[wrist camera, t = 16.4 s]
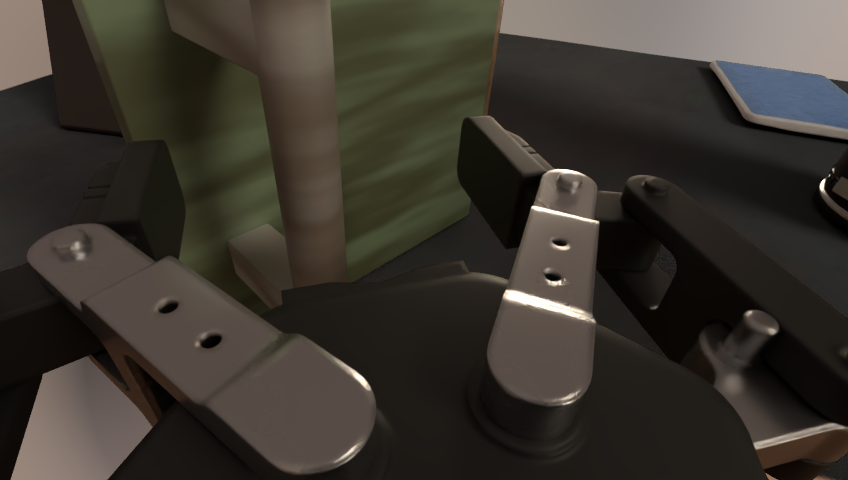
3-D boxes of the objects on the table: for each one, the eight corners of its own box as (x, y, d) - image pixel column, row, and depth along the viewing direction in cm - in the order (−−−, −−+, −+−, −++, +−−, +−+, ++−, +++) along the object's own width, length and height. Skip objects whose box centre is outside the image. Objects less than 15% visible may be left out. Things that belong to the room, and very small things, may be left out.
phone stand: (139, 88, 41) (86, -74, 33) (203, 96, 40) (163, -67, 33) (61, 130, 34) (-29, -65, 26) (137, 139, 33) (67, -56, 26)
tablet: (706, 68, 56) (710, 57, 56) (820, 84, 54) (827, 73, 53) (741, 127, 42) (748, 114, 41) (901, 154, 39) (912, 140, 38)
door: (543, 256, 25) (670, -184, 14) (288, 459, 15) (62, -415, 5) (457, 207, 28) (504, -179, 17) (203, 349, 19) (-45, -306, 8)
